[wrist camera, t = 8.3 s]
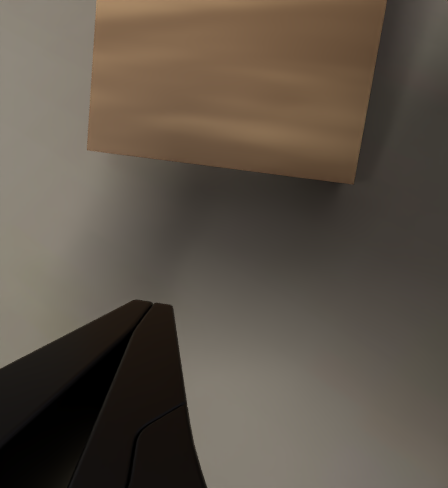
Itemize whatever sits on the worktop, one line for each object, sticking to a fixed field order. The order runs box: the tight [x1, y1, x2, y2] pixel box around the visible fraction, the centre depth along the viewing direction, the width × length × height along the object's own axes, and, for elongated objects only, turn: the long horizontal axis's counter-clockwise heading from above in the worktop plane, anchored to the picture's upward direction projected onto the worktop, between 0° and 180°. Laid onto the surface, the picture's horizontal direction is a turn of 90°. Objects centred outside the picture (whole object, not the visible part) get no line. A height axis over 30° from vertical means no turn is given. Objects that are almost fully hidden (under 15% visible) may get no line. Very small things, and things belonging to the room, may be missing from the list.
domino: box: [87, 0, 387, 184], centre depth 17 cm, size 2×11×12 cm
